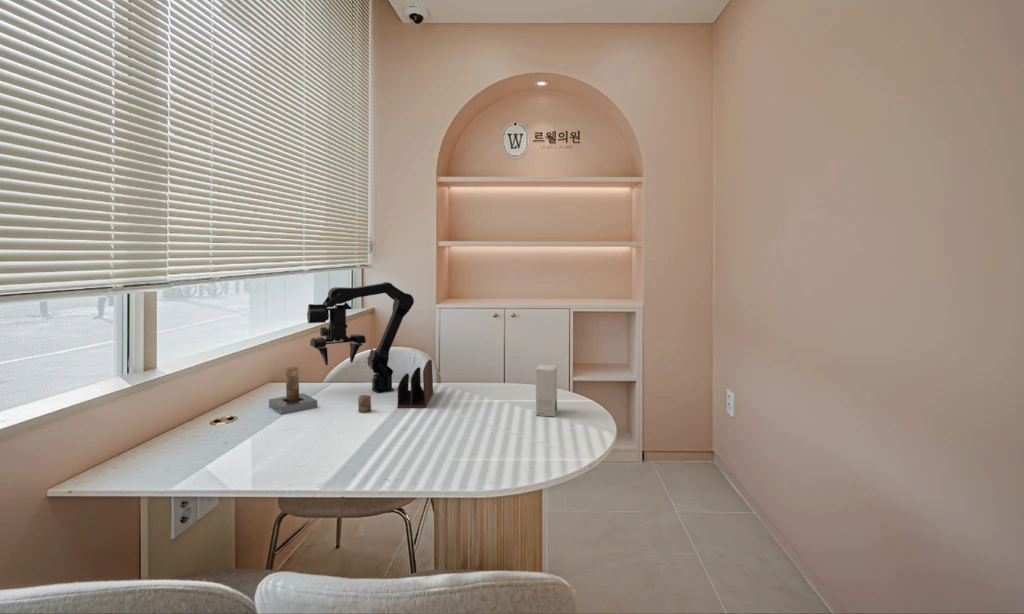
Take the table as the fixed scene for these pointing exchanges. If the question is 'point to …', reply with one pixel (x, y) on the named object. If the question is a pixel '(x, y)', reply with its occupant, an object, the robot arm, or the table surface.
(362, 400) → the stub pin
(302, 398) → the hole collar
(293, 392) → the tall pin
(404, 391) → the letter holder
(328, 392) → the table surface
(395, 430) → the table surface
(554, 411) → the skincare box
